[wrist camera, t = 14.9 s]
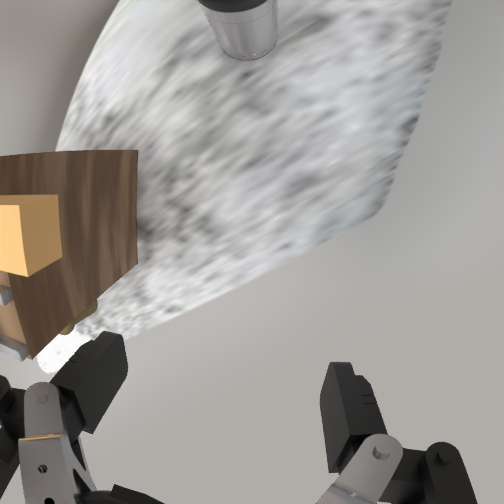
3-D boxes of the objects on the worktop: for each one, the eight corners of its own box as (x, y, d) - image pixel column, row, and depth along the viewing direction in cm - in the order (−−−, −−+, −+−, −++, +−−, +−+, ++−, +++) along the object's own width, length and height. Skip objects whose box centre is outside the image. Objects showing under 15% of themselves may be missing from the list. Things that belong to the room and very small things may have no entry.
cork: (101, 301, 54) (73, 328, 44) (91, 318, 56) (64, 345, 46) (81, 281, 53) (50, 305, 43) (71, 299, 55) (42, 323, 45)
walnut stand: (85, 256, 52) (-32, 336, 22) (82, 152, 46) (-63, 169, 16) (137, 263, 51) (24, 367, 21) (138, 150, 45) (-15, 158, 15)
